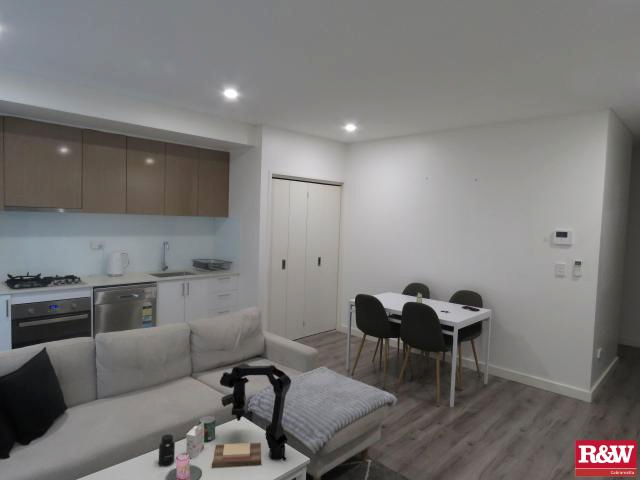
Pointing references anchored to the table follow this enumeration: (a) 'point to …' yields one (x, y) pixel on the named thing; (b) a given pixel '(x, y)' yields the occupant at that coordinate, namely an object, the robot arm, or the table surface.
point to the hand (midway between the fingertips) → (238, 420)
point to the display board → (254, 461)
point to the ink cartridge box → (195, 440)
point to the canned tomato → (208, 427)
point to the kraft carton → (236, 452)
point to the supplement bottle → (166, 450)
